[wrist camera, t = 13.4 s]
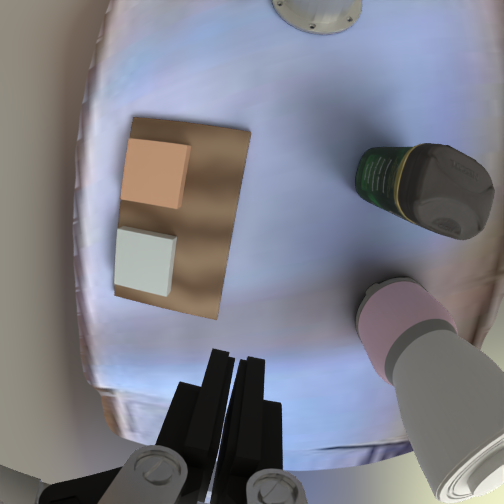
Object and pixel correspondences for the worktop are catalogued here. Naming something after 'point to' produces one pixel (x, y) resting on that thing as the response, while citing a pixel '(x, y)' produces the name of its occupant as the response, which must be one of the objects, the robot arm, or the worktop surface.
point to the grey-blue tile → (144, 260)
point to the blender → (437, 388)
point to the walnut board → (193, 213)
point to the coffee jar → (428, 187)
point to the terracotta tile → (155, 172)
